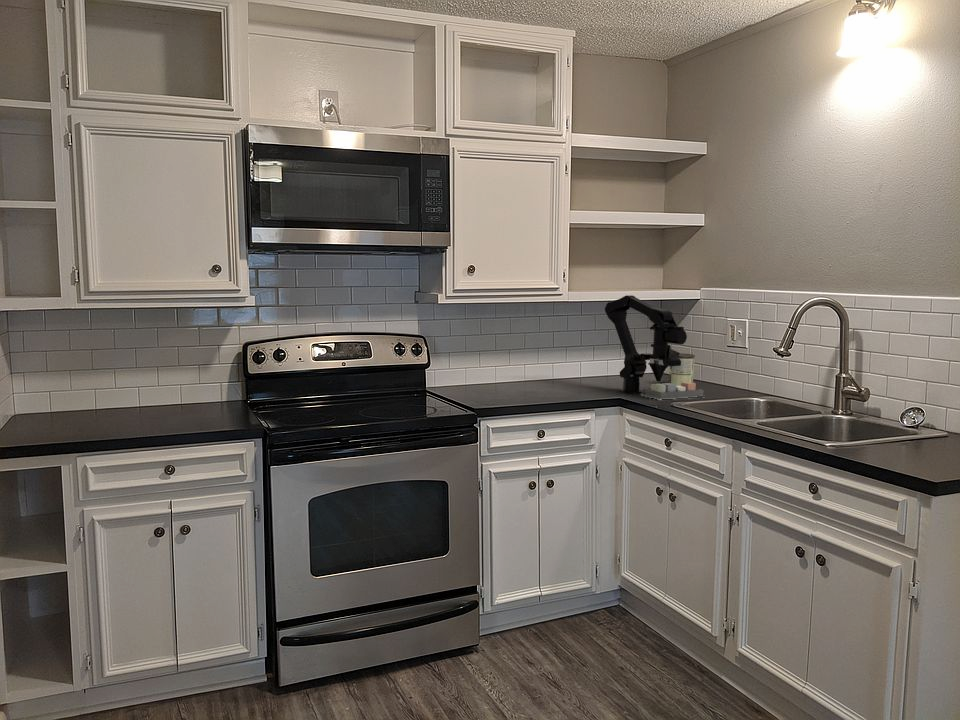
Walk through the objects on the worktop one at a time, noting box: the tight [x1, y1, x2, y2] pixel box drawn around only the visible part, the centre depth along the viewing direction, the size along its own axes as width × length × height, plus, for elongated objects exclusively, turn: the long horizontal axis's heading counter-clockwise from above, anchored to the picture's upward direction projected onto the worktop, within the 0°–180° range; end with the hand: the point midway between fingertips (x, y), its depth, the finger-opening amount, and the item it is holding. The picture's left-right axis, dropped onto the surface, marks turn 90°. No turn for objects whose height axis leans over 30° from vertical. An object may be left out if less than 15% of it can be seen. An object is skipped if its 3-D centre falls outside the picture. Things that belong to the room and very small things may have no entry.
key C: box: [676, 386, 686, 391], centre depth 315 cm, size 4×4×3 cm
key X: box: [661, 382, 676, 392], centre depth 312 cm, size 4×4×3 cm
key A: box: [650, 383, 666, 392], centre depth 310 cm, size 4×4×3 cm
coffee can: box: [668, 352, 696, 386], centre depth 341 cm, size 10×10×14 cm
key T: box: [681, 382, 697, 390], centre depth 317 cm, size 4×4×3 cm
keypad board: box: [639, 387, 704, 401], centre depth 313 cm, size 11×24×3 cm, turn 118°
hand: (658, 381), depth 309 cm, fingers closed
